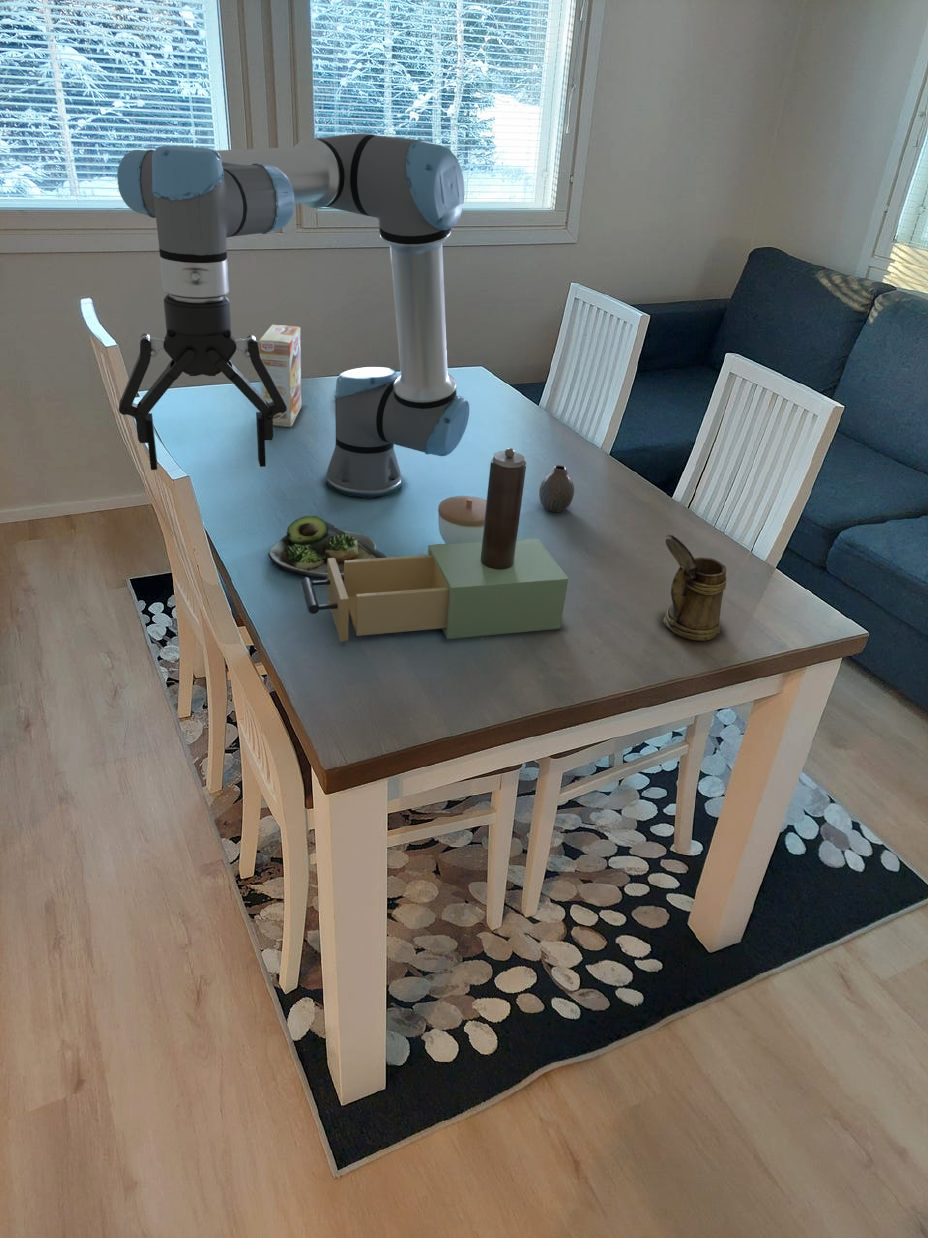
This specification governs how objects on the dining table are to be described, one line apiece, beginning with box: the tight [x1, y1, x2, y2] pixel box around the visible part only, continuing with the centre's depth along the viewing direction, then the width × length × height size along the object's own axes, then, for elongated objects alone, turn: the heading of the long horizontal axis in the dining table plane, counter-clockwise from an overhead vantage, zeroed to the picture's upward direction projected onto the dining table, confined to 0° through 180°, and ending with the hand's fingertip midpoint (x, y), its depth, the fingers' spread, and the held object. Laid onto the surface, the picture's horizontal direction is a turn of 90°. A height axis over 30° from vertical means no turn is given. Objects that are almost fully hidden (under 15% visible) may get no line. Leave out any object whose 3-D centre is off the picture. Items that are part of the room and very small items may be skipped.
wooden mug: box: [663, 534, 728, 642], centre depth 135 cm, size 9×14×18 cm, turn 118°
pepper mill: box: [481, 447, 527, 569], centre depth 130 cm, size 5×5×19 cm
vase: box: [538, 464, 575, 513], centre depth 173 cm, size 7×7×9 cm
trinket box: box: [437, 495, 487, 544], centre depth 155 cm, size 11×11×9 cm
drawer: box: [300, 554, 450, 642], centre depth 132 cm, size 22×12×7 cm, turn 106°
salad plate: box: [267, 515, 388, 579], centre depth 149 cm, size 19×18×5 cm
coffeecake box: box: [258, 324, 302, 428], centre depth 202 cm, size 15×7×20 cm, turn 179°
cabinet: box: [427, 537, 569, 640], centre depth 137 cm, size 19×14×9 cm
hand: (208, 464), depth 113 cm, fingers open, 13 cm apart
